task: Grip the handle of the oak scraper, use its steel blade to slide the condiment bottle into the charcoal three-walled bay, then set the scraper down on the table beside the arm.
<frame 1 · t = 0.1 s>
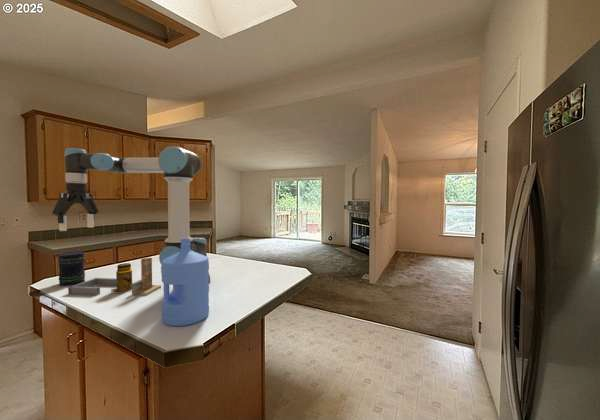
hand: (77, 229, 120), 28 cm above the worktop, tool pointing down, fingers open, 13 cm apart
scraper: (147, 291, 119), on the worktop
water jug: (186, 317, 93), on the worktop
condiment: (122, 290, 119), on the worktop
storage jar: (72, 283, 129), on the worktop
bay: (97, 289, 120), on the worktop
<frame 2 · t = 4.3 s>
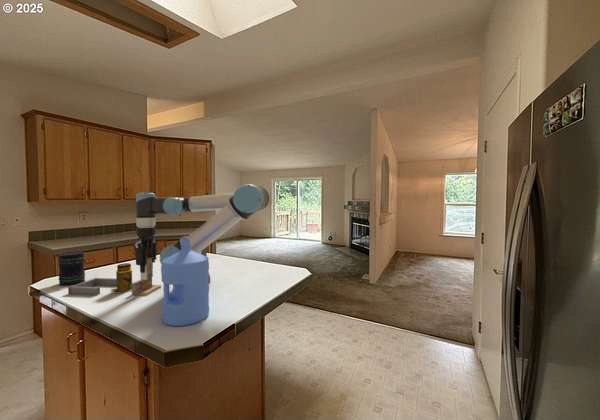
hand: (146, 277, 118), 6 cm above the worktop, tool pointing down, fingers closed on scraper, 3 cm apart
scraper: (146, 291, 119), on the worktop, touching gripper
everything else where it was.
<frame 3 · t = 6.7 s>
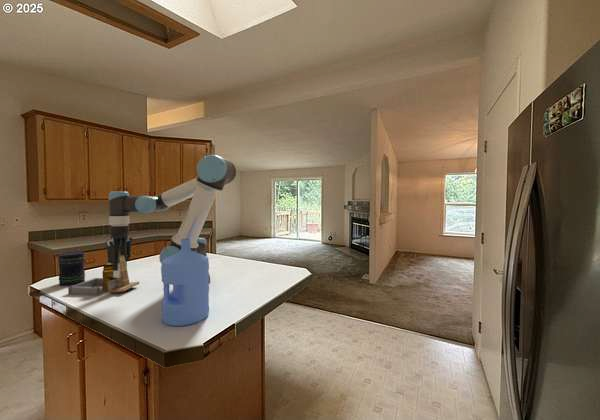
hand: (120, 275, 119), 7 cm above the worktop, tool pointing down, fingers closed on scraper, 3 cm apart
scraper: (124, 288, 119), point 1 cm above the worktop, tilted 10°, touching condiment, gripper
condiment: (108, 289, 121), on the worktop, touching scraper
everything else where it was.
when the fingers open (8 cm above the worktop, at t = 13.1 s): scraper drops 2 cm, on the worktop.
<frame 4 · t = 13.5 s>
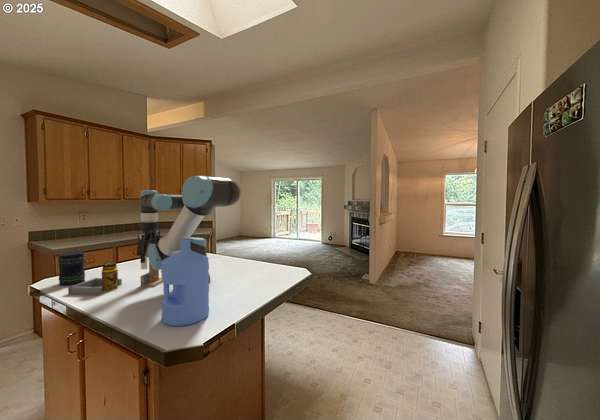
hand: (150, 266, 130), 8 cm above the worktop, tool pointing down, fingers open, 8 cm apart
scraper: (154, 283, 130), on the worktop
condiment: (108, 289, 121), on the worktop
everything else where it was.
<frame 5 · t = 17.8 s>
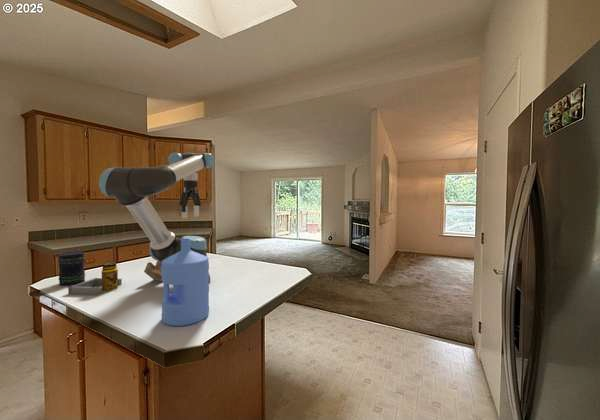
hand: (190, 217, 150), 32 cm above the worktop, tool pointing down, fingers open, 13 cm apart
scraper: (155, 276, 131), point 3 cm above the worktop, tilted 40°, touching arm
everything else where it was.
at the end: condiment inside the target area (4.3 cm from its centre), on the worktop; condiment tilted 0°; scraper touching arm, worktop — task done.
